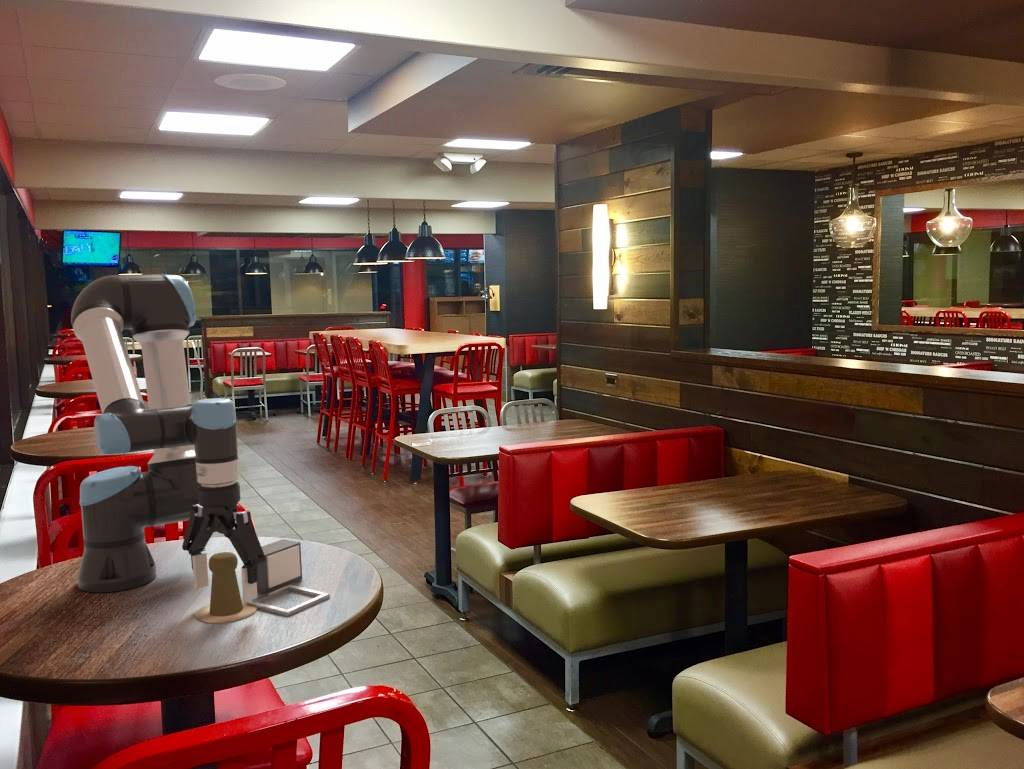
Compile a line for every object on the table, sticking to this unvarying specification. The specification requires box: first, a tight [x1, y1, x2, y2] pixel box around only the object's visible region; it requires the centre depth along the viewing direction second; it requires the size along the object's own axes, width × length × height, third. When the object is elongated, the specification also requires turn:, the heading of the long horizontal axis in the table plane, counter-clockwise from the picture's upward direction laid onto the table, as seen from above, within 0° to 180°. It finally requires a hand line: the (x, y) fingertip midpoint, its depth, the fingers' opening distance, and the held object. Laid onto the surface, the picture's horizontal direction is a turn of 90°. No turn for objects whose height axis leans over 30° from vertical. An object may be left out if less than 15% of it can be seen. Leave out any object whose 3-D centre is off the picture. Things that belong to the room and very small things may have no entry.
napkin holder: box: [248, 538, 303, 595], centre depth 180 cm, size 5×10×8 cm, turn 148°
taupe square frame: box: [247, 584, 331, 617], centre depth 171 cm, size 11×11×1 cm
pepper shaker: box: [208, 551, 243, 616], centre depth 166 cm, size 6×6×11 cm
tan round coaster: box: [195, 599, 258, 624], centre depth 166 cm, size 11×11×1 cm
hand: (225, 593), depth 166 cm, fingers open, 13 cm apart
